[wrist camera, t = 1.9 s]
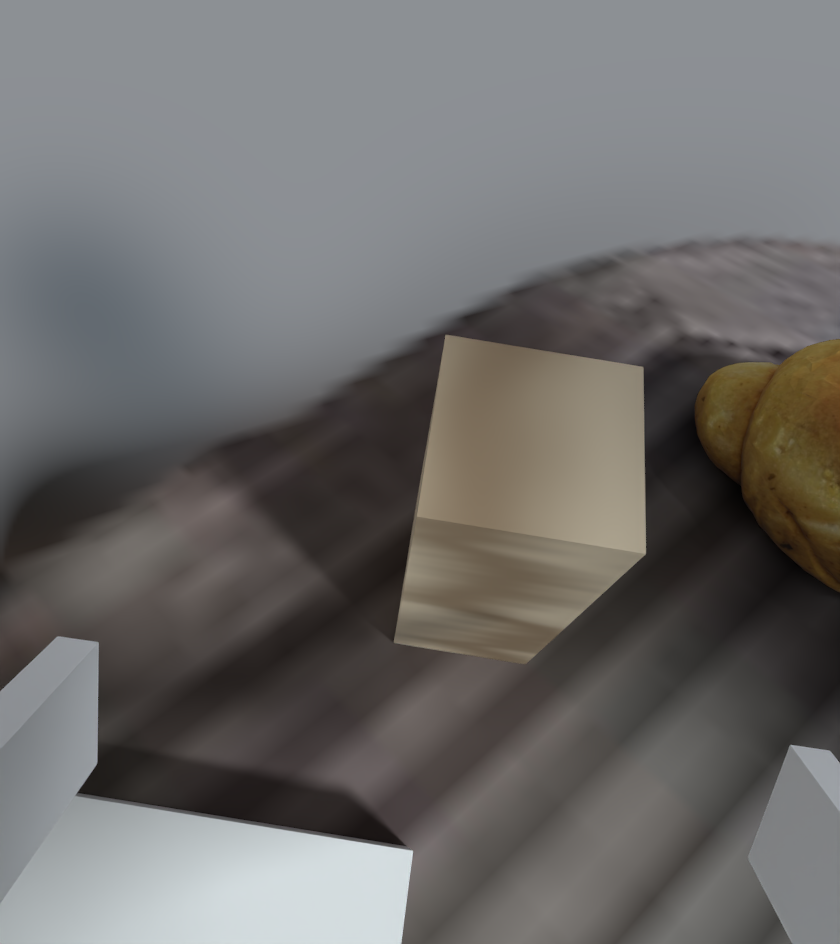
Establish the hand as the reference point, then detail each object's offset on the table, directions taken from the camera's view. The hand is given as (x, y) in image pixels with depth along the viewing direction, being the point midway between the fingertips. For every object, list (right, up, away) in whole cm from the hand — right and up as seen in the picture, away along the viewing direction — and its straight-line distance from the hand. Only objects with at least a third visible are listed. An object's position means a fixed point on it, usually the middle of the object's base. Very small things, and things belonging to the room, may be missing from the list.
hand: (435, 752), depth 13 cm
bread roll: (+17, +4, +17) cm, 25 cm away
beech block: (+2, +1, +13) cm, 14 cm away
